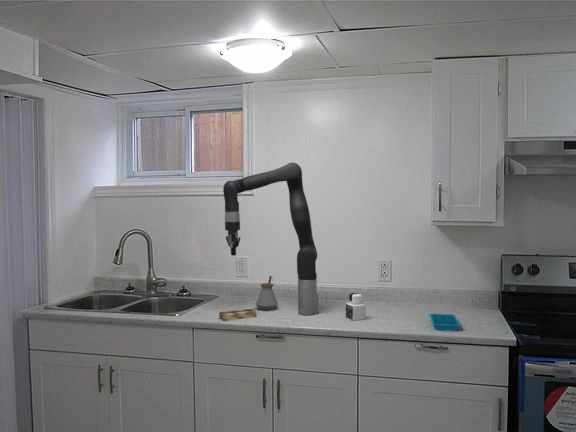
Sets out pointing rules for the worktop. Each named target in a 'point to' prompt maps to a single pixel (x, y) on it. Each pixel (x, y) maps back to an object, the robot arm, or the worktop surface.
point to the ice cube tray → (444, 322)
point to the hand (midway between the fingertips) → (233, 255)
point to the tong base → (239, 315)
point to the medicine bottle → (355, 307)
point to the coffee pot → (267, 297)
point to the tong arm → (232, 312)
